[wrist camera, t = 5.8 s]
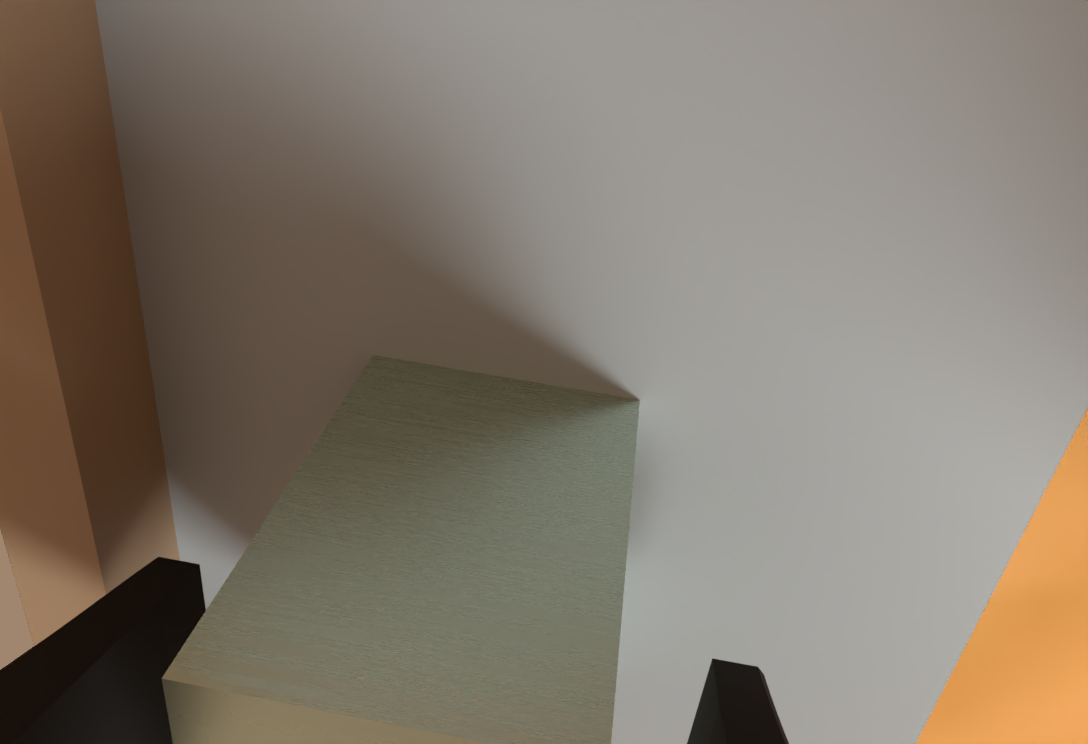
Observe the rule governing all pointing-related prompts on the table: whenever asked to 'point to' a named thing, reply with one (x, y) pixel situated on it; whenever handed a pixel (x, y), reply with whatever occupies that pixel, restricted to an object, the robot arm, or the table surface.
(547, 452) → the sage tin
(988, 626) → the table surface
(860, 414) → the shelf
